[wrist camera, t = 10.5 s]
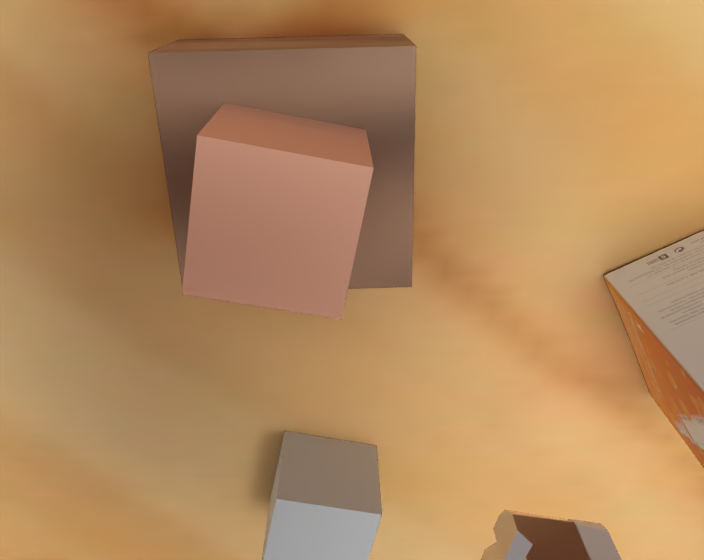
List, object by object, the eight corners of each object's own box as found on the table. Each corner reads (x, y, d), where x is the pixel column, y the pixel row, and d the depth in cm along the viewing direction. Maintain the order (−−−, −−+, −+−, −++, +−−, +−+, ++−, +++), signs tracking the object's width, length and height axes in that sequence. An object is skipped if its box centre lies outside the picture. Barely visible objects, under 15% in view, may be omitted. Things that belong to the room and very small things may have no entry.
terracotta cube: (339, 257, 25) (341, 319, 21) (209, 235, 25) (182, 294, 20) (366, 129, 23) (373, 167, 19) (224, 102, 23) (197, 135, 18)
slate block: (356, 512, 37) (358, 587, 33) (269, 499, 37) (260, 574, 32) (376, 444, 35) (382, 514, 31) (284, 430, 35) (276, 498, 30)
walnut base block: (400, 239, 30) (412, 286, 26) (206, 245, 30) (183, 293, 26) (402, 33, 26) (416, 45, 22) (180, 39, 26) (147, 52, 22)
